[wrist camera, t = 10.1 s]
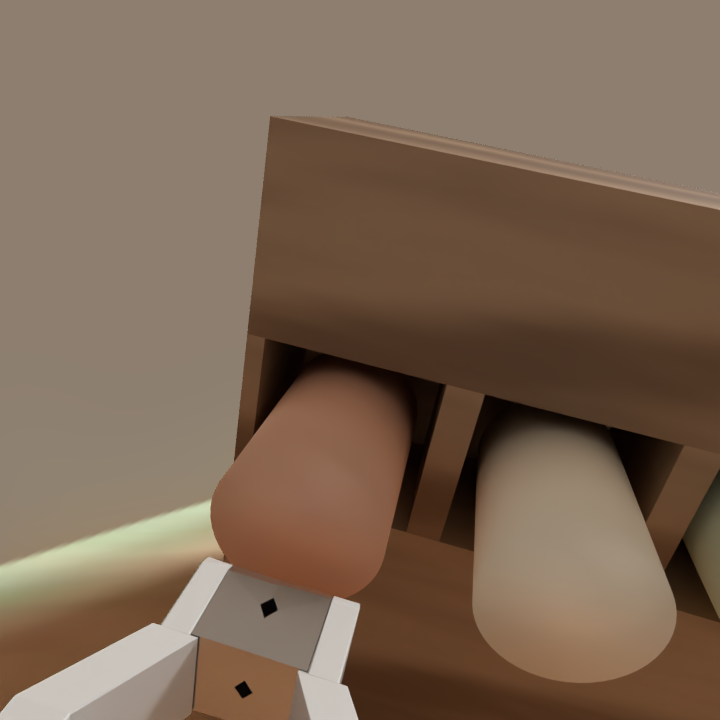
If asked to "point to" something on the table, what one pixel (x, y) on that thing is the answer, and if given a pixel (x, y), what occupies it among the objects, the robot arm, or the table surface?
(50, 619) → the table surface
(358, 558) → the terracotta button
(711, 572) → the sage button
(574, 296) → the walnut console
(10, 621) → the table surface
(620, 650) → the cream button
